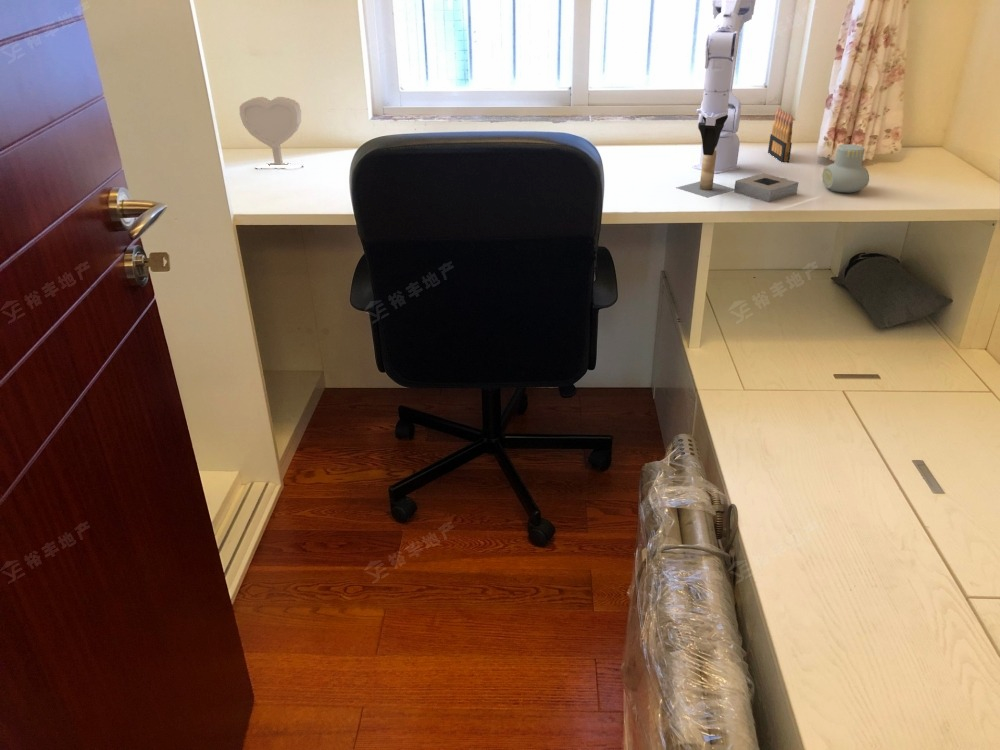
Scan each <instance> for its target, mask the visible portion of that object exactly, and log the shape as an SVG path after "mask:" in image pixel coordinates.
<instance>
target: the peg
mask: <svg viewBox="0 0 1000 750" xmlns="http://www.w3.org/2000/svg"><path fill="white" fill-rule="evenodd" d="M716 153H717V151H716V150H715V151H714V153H713V155H704V154H703V160H702V169H701V170H700V180H699V181H700V189H701V190H712V188H713V183H714V178H715V174H714V170H715V161H716Z"/></svg>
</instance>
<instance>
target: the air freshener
mask: <svg viewBox="0 0 1000 750" xmlns="http://www.w3.org/2000/svg"><path fill="white" fill-rule="evenodd" d="M836 148H837V149H836V153H835V158H834V162H833V163H831V164H829V165H827V166H825V167H824V168H823V170H822V173H821V178H822V179H821V180H822V183H823V185H824V187H826V188H827V189H829V191H831V192H836V193H844V194H847V193H848V194H849V193H856V192H859V191H861V190H863V189H865V188H866V187H867V186H868V184H869V183H870V172H869V171H868V169H867V168H866V167H865V166H864V165H863V160H864V159H863V158H864V154H865V148H864V146H862V145H858V144H851V143H850V144H840V145H838V146H837V147H836Z"/></svg>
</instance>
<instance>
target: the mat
mask: <svg viewBox="0 0 1000 750" xmlns="http://www.w3.org/2000/svg"><path fill="white" fill-rule="evenodd" d="M675 188H676V189H678V190H681V191H684V192H688V193H691V194H694V195H697V196H701V197H704V198H711V197H715V196H718V195H722V194H726V193H729V192H734V188H733V187H731V186H726V185H724V184H723V185H722V184H719V183H715V182H713V188H712V190H701V189H700V180H699V181H695V182H692V183H688V184H685V185H681V186H678V187H675Z"/></svg>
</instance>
